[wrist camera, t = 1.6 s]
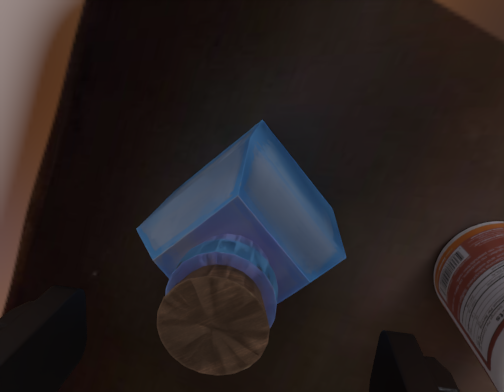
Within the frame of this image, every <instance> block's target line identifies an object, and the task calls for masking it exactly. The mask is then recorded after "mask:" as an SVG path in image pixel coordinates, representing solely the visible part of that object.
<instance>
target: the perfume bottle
mask: <svg viewBox="0 0 504 392" xmlns="http://www.w3.org/2000/svg"><path fill="white" fill-rule="evenodd" d="M136 230H137V232H138V234H139V235H140V237H141V239H142V241H143V243H144V245H145V247H146V249H147V251H148V252H149V254H150V256H151V258H152V260H153V261H154V262H155V263H156V265H157V266H158V267H159V268H160V269H161V270H162V271H163V272H164V273H165V274H166V276H167V277H168V278H169V282H168V284H167V286H166V294H165V297H164V298H163V300H162V302H161V304H160V307H159V309H158V311H157V329H158V333H159V336H160V339H161V342H162V343H163V345H164V346H165V348H166V349H167V351H168V352H169V353H170V355H171V356H172V357H174V358H175V359H176V360H177V361H179V362H180V363H181V364H182V365H184V366H185V367H188V368H190V369H192V370H195V371H197V372H199V373H204V374H210V375H227V374H234V373H237V372H239V371H241V370H244V369H246V368H249V367H250V366H251V365H252V364H253V363H254V362H256V361H257V360H258V359H259V358H260V357H261V355H262V353H263V352H264V350H265V348H266V346H267V344H268V338H269V331H270V327H271V326H272V324H273V322H274V320H275V314H276V307H277V304H278V303H280V302H281V301H283V300H284V299H286V298H287V297H289V296H291V295H292V294H294V293H295V292H297V291H298V290H300V289H301V288H303V287H304V286H306V285H307V284H309V283H311V282H312V281H313V280H315V279H316V278H318V277H319V276H321V275H322V274H324V273H325V272H327V271H328V270H329V269H331V268H332V267H334V266H335V265H337V264H338V263H340V262H341V261H343V260H344V259H346V254H345V251H344V247H343V244H342V240H341V237H340V233H339V229H338V226H337V222H336V219H335V215H334V212H333V209H332V207H331V206H330V205H329V203H328V202H327V201H326V200H325V198H324V197H323V196H322V195H321V193H320V192H319V191H318V189H317V188H316V187H315V186H314V184H313V183H312V182H311V181H310V179H309V178H308V177H307V175H306V174H305V173H304V172H303V170H302V169H301V168H300V167H299V165H298V164H297V163H296V161H295V160H294V159H293V158H292V156H291V155H290V154H289V153H288V151H287V150H286V149H285V147H284V146H283V145H282V144H281V142H280V141H279V140H278V139H277V137H276V136H275V135H274V133H273V132H272V131H271V130H270V128H269V127H268V126H267V125H266V123H265V122H264V121H263V120H261V121H260V122H259V123H258V124H256V125H255V126H254V127H253V128H251V129H250V130H249V131H248V132H246V133H245V134H244V135H243V136H241V137H240V138H239V139H238V140H237V141H235V142H234V143H233V144H232V145H230V146H229V147H228V148H227V149H225V150H224V151H223V152H222V153H220V154H219V155H218V156H217V157H215V158H214V159H213V160H212V161H210V162H209V163H208V164H207V165H206V166H204V167H203V168H202V169H201V170H199V171H198V172H197V173H196V174H194V175H193V176H192V177H191V178H189V179H188V180H187V181H186V182H184V183H183V184H182V185H181V186H180V187H178V188H177V189H176V190H175V191H174V192H173V193H172V194H171V195H170V196H169V197H168V198H167V199H166V200H165V201H164V202H163V203H162V204H161V205H160V206H159V207H158V208H157V209H156V210H155V211H154V212H153V213H152V214H151V215H150V216H149V217H148V218H147V219H146V220H145V221H144V222H143V223H142V224H141V225H140V226H139V227H138V228H137V229H136Z"/></svg>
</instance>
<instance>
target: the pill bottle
mask: <svg viewBox="0 0 504 392" xmlns="http://www.w3.org/2000/svg"><path fill="white" fill-rule="evenodd" d="M433 276H434V286H435V290H436V293H437V295H438V297H439V299H440V301H441V303H442V305H443V307H444V308H445V310H446V311H447V313H448V314H449V316H450V317H451V319H452V320H453V322H454V323H455V325H456V326H457V328H458V330H459V331H460V333H461V334H462V336H463V337H464V339H465V340H466V342H467V344H468V345H469V347H470V348H471V350H472V351H473V353H474V354H475V356H476V358H477V359H478V361H479V362H480V364H481V365H482V367H483V368H484V370H485V372H486V373H487V375H488V376H489V378H490V380H491V381H492V383H493V384H494V386H495V388H496V389H497V391H498V392H504V221H493V222H486V223H482V224H478V225H475V226H472V227H470V228H468V229H466V230H464V231H462V232H461V233H459V234H458V235H456V236H455V237H454V238H453V239H451V240H450V241H449V242H448V244H447V245H446V246H445V247H444V248H443V250H442V251H441V253H440V254H439V256H438V259H437V261H436V264H435V268H434V275H433Z"/></svg>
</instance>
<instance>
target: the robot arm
mask: <svg viewBox="0 0 504 392" xmlns="http://www.w3.org/2000/svg"><path fill="white" fill-rule="evenodd" d="M86 342H87V326H86V297H85V292H84V290H83V289H80V288H72V287H65V286H57V285H54V286H52V287H50V288H49V289H48V290H47V291H46V292H45V293H43V294H42V295H41V296H40V297H39V298H38V299H37V300H35V301H29V302H27V303H25V304H22V305H20V306H18V307H16V308H14V309H12V310H10V311H9V312H7V313H6V314H5V315H4V316H3V317H1V318H0V392H57V391H58V389H59V388H60V387H61V385H62V384H63V383H64V381H65V380H66V379H67V377H68V376H69V375H70V373H71V372H72V371H73V369H74V368H75V367H76V365H77V364H78V363H79V361H80V360H81V358H82V356H83V353H84V350H85V347H86ZM459 391H460V390H459V389H458V387H457V385H456V383H455V381H454V379H453V377H452V375H451V373H450V372H449V371H448V370H446V369H445V368H444V367H443V366H442V365H441V364H440V363H439V362H438V361H437V360H436V359H435V358H433V357H426V356H424V355H423V353H422V351H421V349H420V347H419V345H418V343H417V340H416V338H415V336H414V335H413V334H407V333H400V332H392V331H385V330H383V331H382V332H381V334H380V336H379V341H378V345H377V350H376V355H375V359H374V364H373V369H372V373H371V378H370V387H369V392H459Z"/></svg>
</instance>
